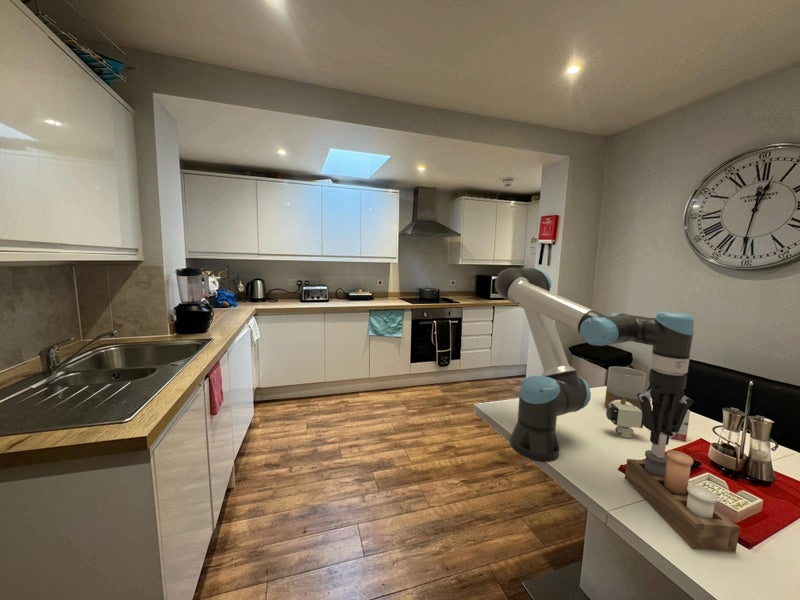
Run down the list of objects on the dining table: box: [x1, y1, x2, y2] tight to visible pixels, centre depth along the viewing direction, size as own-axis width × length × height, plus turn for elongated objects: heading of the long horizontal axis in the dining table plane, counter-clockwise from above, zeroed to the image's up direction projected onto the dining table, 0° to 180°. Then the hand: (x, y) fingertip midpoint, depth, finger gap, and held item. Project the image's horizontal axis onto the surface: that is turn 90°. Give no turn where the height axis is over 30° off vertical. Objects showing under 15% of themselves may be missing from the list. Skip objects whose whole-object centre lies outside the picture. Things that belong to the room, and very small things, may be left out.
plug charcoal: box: [644, 449, 668, 477], centre depth 86 cm, size 5×5×9 cm
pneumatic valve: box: [605, 402, 644, 439], centre depth 115 cm, size 6×12×12 cm, turn 79°
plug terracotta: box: [664, 449, 694, 496], centre depth 79 cm, size 5×5×9 cm
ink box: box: [669, 409, 691, 443], centre depth 116 cm, size 9×5×12 cm, turn 65°
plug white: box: [686, 484, 718, 519], centre depth 72 cm, size 5×5×9 cm
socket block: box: [624, 458, 741, 553], centre depth 80 cm, size 9×23×6 cm, turn 176°
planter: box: [604, 366, 647, 409], centre depth 136 cm, size 13×13×18 cm
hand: (657, 454), depth 86 cm, fingers closed
